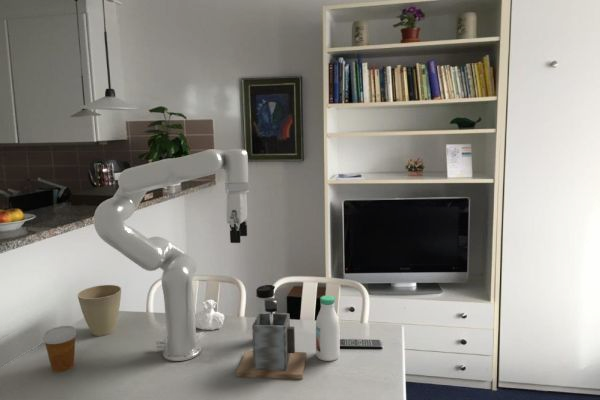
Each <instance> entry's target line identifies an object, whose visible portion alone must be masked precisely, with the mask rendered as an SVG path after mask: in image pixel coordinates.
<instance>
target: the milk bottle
mask: <svg viewBox="0 0 600 400" xmlns="http://www.w3.org/2000/svg"><path fill="white" fill-rule="evenodd" d="M335 299H336V298H335V297H334V296H333V295H322V296H320V298H319V300H320V301H319V302H320V310H319V312H318V315H317V316H316V321H315V352H316V353H315V355H316V357H317V358H318V359H319V360H321V361H326V362H332V361H335V360H337V359H339V357H340V356H341V354H340V352H341V348H340V347H341V346H340V345H341V344H340V343H341V341H340V340H341V339H340V338H341V337H340V334H341V332H340V318H339V317H338V314H337V312H336V308H335V302H336V301H335Z"/></svg>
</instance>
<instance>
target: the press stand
mask: <svg viewBox="0 0 600 400" xmlns="http://www.w3.org/2000/svg"><path fill="white" fill-rule="evenodd" d="M290 321H291V317H290V313H286V312H285V313H281V312H279V313H278V312H275V313H273V325H270V313H258V315H257V314H256V318H255V319H254V322H253V324H252V329H251V330H252V350H245V352H244V355H243V357H242V359H241V361H240V363H239V366H238V367H237V369H236V372H235V376H236V378H252V379H253V378H255V379H256V378H259V379H280V380H283V379H284V380H287V379H288V380H303V377H304V371H305V367H306V362H307V352H305V351H296V342H295V341H296V340H295V339H296V338H295V336H296V335H295V326H291V325H290V324H291V323H290Z"/></svg>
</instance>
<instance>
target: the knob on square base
mask: <svg viewBox="0 0 600 400" xmlns="http://www.w3.org/2000/svg"><path fill="white" fill-rule="evenodd" d="M264 303H265V311H266V312H270V325H273V312H275V313H276V312H277V311H278V299H277V298H275V297H274V298H268V299H265V300H264Z"/></svg>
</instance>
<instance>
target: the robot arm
mask: <svg viewBox="0 0 600 400" xmlns="http://www.w3.org/2000/svg"><path fill="white" fill-rule="evenodd" d="M248 161H249V158H248V152H247V149H246V150H245V149H242V148H241V149H240V148H237V149H227V150H225V149H224V150H223V149H215V148H211V149H207V150H203V151H199V152H196V153H192V154H188V155H184V156H180V157H174V158H172V157H171V158H170V157H169V158H163V159H161V160H156V161H153V162H152V161H151V162H149V163H145V164H141V165H138V166H137V165H136V166H132V167H129V168H126V169H123V171H121V173H120V174H119V175H118V179H117V183H118V184H117V185H118V189H117V190H116V192H115V193H114V195H113V197H111V198H108V199H106V200H104V201H102V202H101V203H100V204H99V205H98V206H97V207H96V209H95V212H94V215H93V227H94V230H95V232H96V233H97V234H96V235H98V237H99V238H100V239H101V240H102V241H103V242H105V243H106V244H107V245H108V246H110V247H111V248H113V249H115V250H116V251H118V252H119V253H120V254H122V255H123V256H124V257H125V258H127V259H129V260H130V261H131V262H133V263H134V264H136V265H137V266H138V267H140V268H142V269H143V270H145V271H149V272H153V271H156V270H159V269H161V270H162V275H161V288H162V293H163V301H164V315H165V329H166V330H165V331H166V338H165V339H161V338H157V339H156V341H155V345H156V348H157V349H158V348H159V349H161V348H163V350H162V356H163V358H164V359H166V360H168V361H171V362H183V361H189V360H191V359H193V358H196V357H197V356H199V355H200V354H201V353H202V345H201V344H200V343H198V342H197V333H196V332H197V331H196V326H195V314H196V313H195V311H196V309H195V297H194V289H193V288H194V287H193V286H194V284H193V279H194V277H195V274H196V271H197V266H196V262H195V260H194V259H193V257H191V256H190V255H189V254H188V253H187V252H185V251H183V250H182V249H181V248H179V247H178V246H176V245H175V244H174V243H172V242H170V241H169V240H167V239H166V238H164V237H161V236H153V237H152V236H151V237H149V238H148V237H146V236H145V235H143V234H142V233H141V232H140V231H138V230H137V229H135V228H133V227H131V226H128V225H127V224H126V223H125V221H126V220H128V219H129V218H131V217H132V215H133V214H134V213H135V211H136V210H137V208H138V206H139V205H140V203H141V202H142V200H143V198H144V197H145V195H146V194H147V192H150V191H154V190H158V189H161V188H166V187H171V186H173V185H174V186H175V185H178V184H180V183H184V182H188V181H190V180H191V181H192V180H196V179H200V178H203V177H207V176H211V175H214V174H217V173H218V172H222V171H224V187H225V188H224V189H225V193H226V194H227V195H226V223H227V224H229V240H230V241H229V242H230V243H231V244H241V242H242V241H241V237H247V236H248V224H247V223H248V220H247V219H248V199H247V197H248V196H247V193H249V192H250V190H249V188H250V187H249V183H250V182H249V162H248Z"/></svg>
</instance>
